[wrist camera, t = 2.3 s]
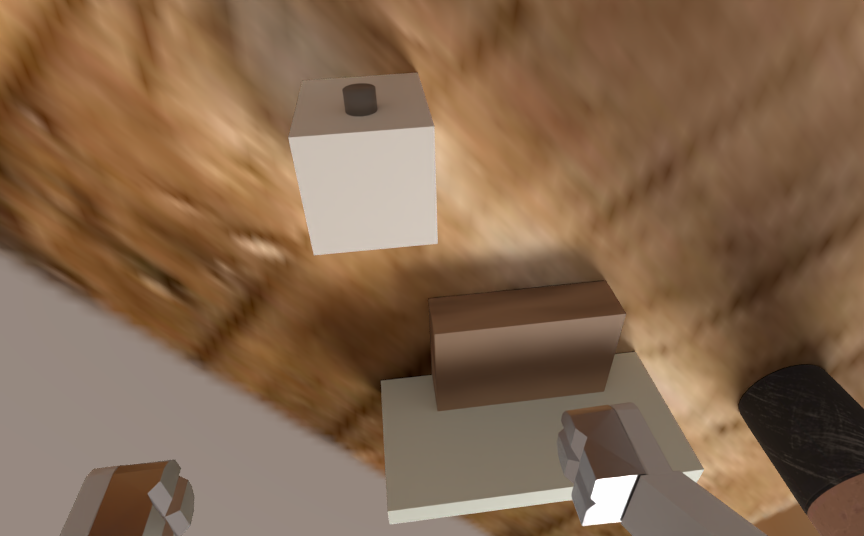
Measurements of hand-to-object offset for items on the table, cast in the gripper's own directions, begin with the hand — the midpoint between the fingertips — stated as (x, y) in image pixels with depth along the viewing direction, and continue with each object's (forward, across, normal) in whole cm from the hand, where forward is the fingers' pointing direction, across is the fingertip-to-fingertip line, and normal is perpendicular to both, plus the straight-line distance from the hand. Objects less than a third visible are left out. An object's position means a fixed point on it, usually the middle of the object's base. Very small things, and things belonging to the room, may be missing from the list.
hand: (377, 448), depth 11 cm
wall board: (+17, -8, +18) cm, 26 cm away
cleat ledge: (+16, -8, +14) cm, 23 cm away
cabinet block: (+16, 0, 0) cm, 17 cm away
